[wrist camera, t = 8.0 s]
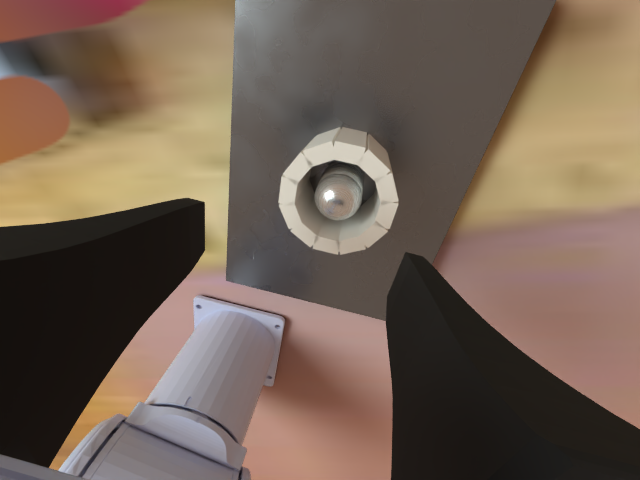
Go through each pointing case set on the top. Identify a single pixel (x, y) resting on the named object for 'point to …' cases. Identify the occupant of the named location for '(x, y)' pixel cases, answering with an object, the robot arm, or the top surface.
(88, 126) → the top surface
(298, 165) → the ring
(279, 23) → the steel tile with stud
